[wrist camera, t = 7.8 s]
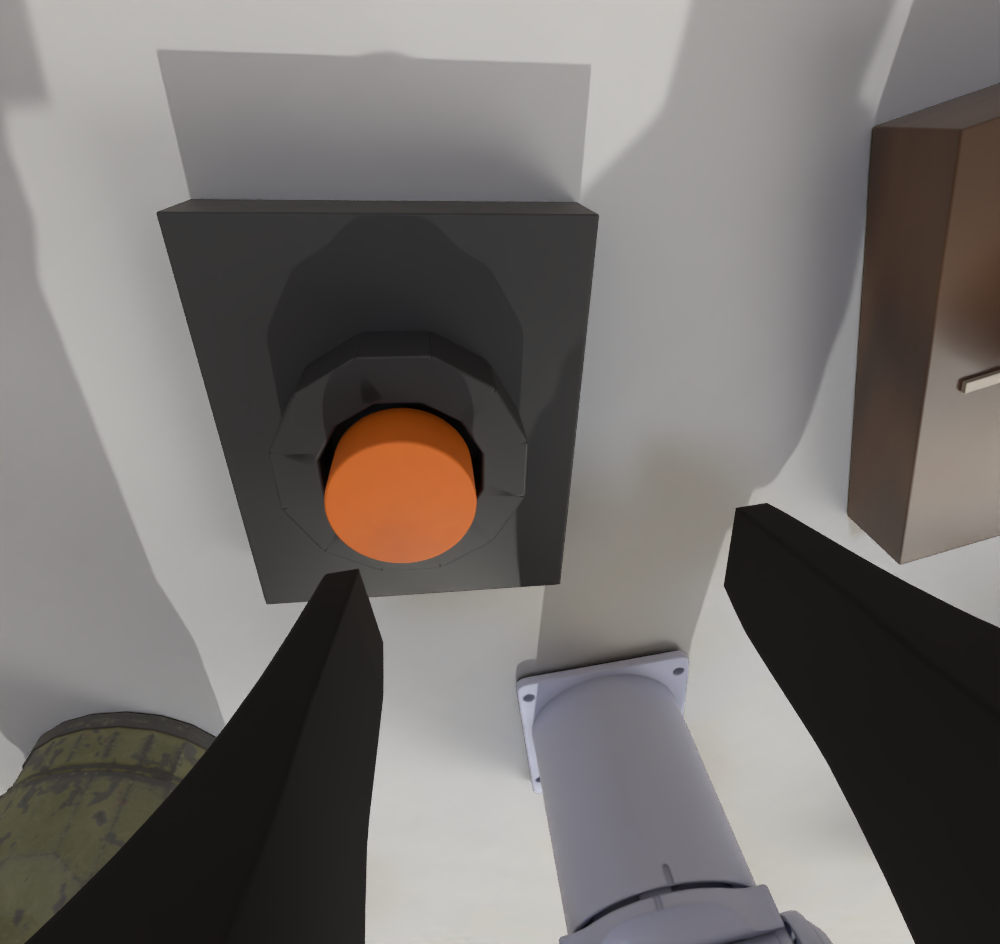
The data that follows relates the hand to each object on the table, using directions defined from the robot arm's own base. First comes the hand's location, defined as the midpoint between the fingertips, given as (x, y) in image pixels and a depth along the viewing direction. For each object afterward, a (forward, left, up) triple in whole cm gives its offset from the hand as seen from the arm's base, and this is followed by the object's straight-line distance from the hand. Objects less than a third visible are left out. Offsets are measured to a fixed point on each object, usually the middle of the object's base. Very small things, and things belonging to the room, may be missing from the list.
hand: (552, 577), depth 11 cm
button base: (0, +3, -9) cm, 9 cm away
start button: (0, +3, -5) cm, 6 cm away
